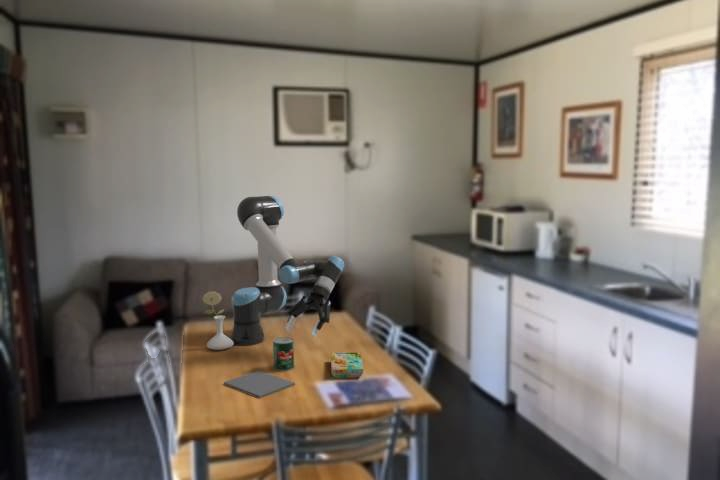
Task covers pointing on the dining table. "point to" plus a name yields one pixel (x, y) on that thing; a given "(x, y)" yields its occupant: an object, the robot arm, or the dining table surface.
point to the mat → (259, 384)
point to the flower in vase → (219, 339)
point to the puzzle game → (346, 365)
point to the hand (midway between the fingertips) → (299, 333)
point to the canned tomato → (283, 354)
